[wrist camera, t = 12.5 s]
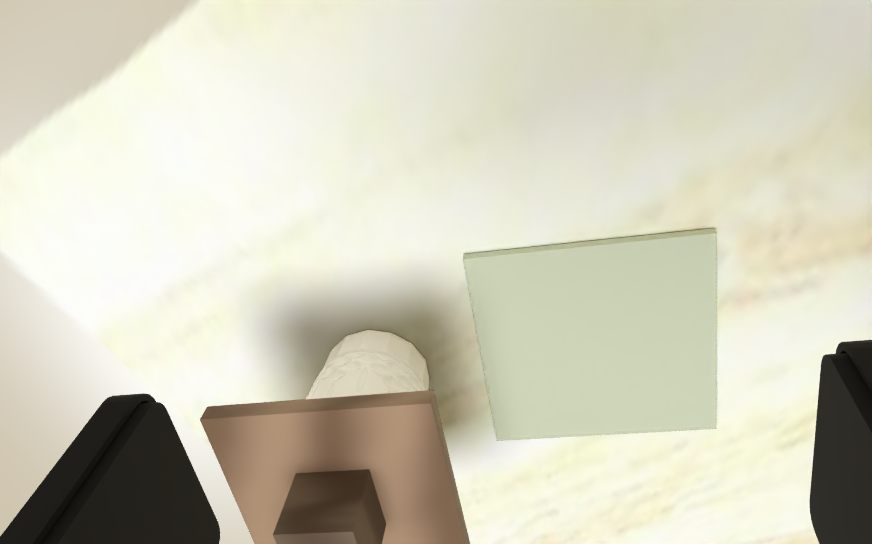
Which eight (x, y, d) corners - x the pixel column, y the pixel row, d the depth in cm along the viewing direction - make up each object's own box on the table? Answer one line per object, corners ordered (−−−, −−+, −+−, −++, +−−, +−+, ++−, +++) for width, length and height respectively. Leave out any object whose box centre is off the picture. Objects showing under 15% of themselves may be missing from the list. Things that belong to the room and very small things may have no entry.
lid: (433, 390, 36) (419, 464, 32) (473, 556, 42) (465, 638, 38) (207, 406, 39) (166, 478, 35) (274, 562, 45) (246, 640, 40)
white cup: (385, 435, 52) (355, 554, 43) (296, 368, 50) (246, 479, 41) (463, 373, 48) (447, 490, 40) (370, 298, 46) (332, 404, 38)
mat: (714, 228, 41) (716, 233, 41) (714, 422, 48) (716, 428, 47) (463, 254, 44) (462, 259, 43) (497, 434, 51) (496, 440, 50)
